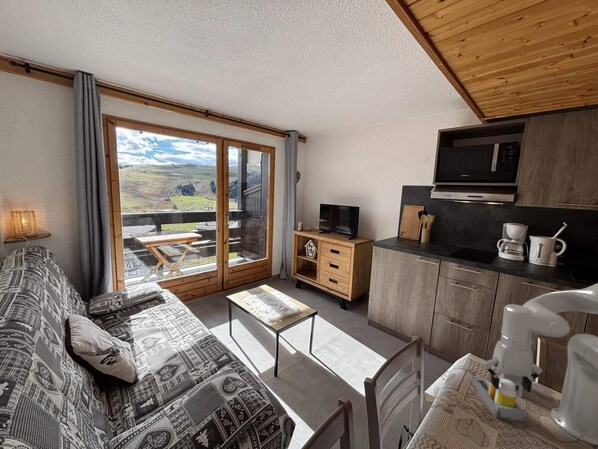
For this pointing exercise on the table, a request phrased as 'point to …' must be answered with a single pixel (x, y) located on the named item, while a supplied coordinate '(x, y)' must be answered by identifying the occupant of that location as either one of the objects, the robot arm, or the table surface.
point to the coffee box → (516, 383)
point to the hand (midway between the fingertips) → (510, 387)
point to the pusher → (490, 389)
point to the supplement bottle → (505, 394)
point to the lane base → (498, 410)
